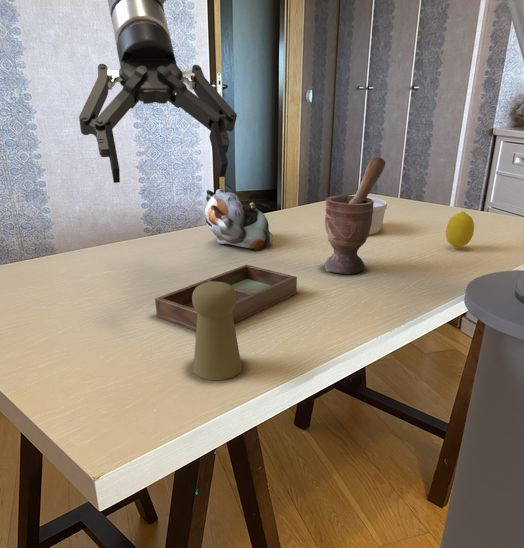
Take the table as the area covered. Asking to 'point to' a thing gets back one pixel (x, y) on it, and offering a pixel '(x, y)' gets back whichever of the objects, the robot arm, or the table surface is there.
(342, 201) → the mortar and pestle
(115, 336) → the table surface
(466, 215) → the lemon
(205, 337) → the olive pepper mill
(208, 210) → the lucky cat figurine
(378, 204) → the ramekin
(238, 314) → the divided wooden tray
